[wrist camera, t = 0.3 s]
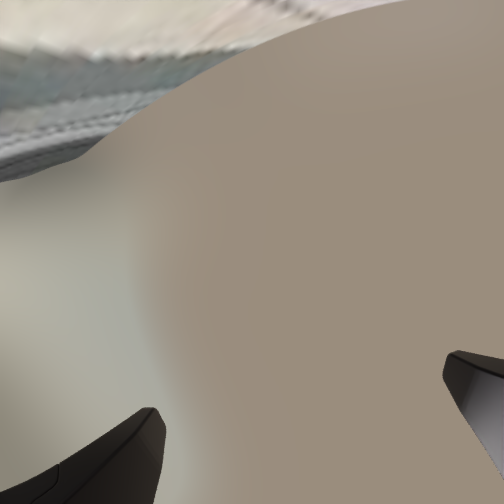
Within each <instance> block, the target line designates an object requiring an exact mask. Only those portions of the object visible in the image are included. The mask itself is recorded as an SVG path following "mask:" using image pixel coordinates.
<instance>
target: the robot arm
mask: <svg viewBox="0 0 504 504" xmlns="http://www.w3.org/2000/svg"><path fill="white" fill-rule="evenodd" d="M443 380H444V382H445V384H446V386H447V388H448V389H449V391H450V393H451V395H452V397H453V399H454V401H455V403H456V405H457V406H458V408H459V410H460V412H461V413H462V415H463V416H464V418H465V419H466V421H467V422H468V424H469V425H470V426H471V428H472V430H473V431H474V433H475V434H476V436H477V437H478V439H479V440H480V442H481V443H482V445H483V446H484V448H485V450H486V451H487V453H488V454H489V456H490V458H491V459H492V461H493V462H494V464H495V466H496V467H497V469H498V471H499V472H500V474H501V476H502V477H503V479H504V359H498V358H494V357H488V356H483V355H479V354H474V353H469V352H465V351H460V350H457V351H455V352H452V353H449V354H448V356H447V358H446V362H445V365H444V369H443ZM165 438H166V426H165V423H164V421H163V420H162V418H161V416H160V414H159V412H158V410H157V409H156V408H153V407H152V408H150V407H147V408H146V407H145V408H142V409H140V410H139V411H138V412H136V413H135V414H133V415H132V416H130V417H129V418H128V419H126V420H125V421H123V422H122V423H120V424H119V425H117V426H116V427H114V428H113V429H111V430H110V431H109V432H107V433H105V434H104V435H103V436H101V437H99V438H98V439H96V440H95V441H93V442H92V443H91V444H89V445H87V446H86V447H84V448H83V449H81V450H79V451H78V452H76V453H75V454H73V455H71V456H70V457H68V458H67V459H65V460H64V461H62V462H60V464H56V465H55V466H53V467H51V468H50V469H48V470H46V471H44V472H43V473H41V474H39V475H37V476H35V477H33V478H31V479H29V480H27V481H25V482H23V483H21V484H18V485H16V486H14V487H11V488H9V489H7V490H4V491H2V492H0V504H153V502H154V498H155V494H156V490H157V485H158V482H159V478H160V474H161V469H162V463H163V455H164V446H165Z"/></svg>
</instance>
